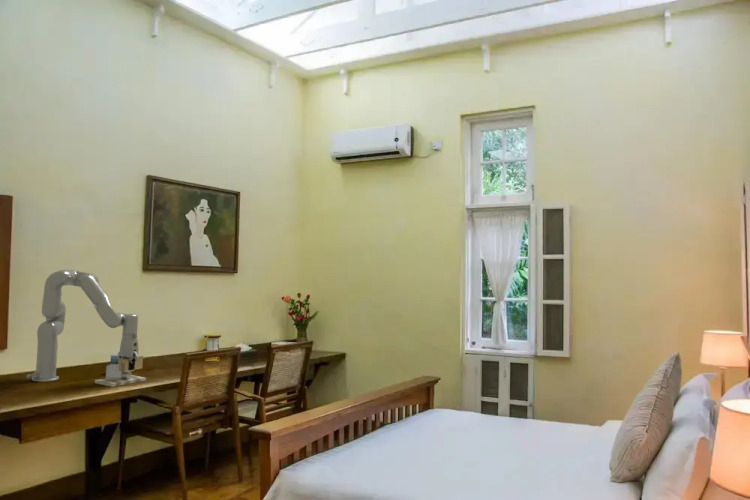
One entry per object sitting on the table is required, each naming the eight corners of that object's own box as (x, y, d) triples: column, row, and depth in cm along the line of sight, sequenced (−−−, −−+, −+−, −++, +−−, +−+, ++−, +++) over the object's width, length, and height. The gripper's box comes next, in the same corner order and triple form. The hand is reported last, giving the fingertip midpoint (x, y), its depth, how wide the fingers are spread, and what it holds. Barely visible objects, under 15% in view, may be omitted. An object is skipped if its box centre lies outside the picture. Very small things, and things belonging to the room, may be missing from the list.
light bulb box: (119, 375, 342) (120, 356, 342) (109, 373, 343) (110, 355, 343) (130, 371, 352) (131, 353, 353) (120, 370, 354) (121, 352, 354)
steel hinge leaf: (109, 382, 315) (110, 362, 315) (102, 380, 317) (103, 361, 317) (133, 378, 328) (134, 359, 329) (126, 376, 331) (127, 357, 331)
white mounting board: (112, 386, 311) (112, 383, 311) (94, 383, 318) (94, 380, 318) (145, 380, 331) (146, 377, 331) (128, 377, 337) (128, 374, 337)
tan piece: (125, 372, 323) (125, 359, 323) (117, 370, 326) (118, 358, 326) (145, 369, 336) (146, 356, 336) (138, 367, 338) (139, 355, 338)
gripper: (146, 337, 328) (143, 370, 327) (124, 334, 336) (122, 366, 335) (134, 338, 321) (132, 372, 321) (113, 335, 329) (110, 367, 329)
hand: (127, 368), depth 328 cm, fingers closed on tan piece, 6 cm apart
